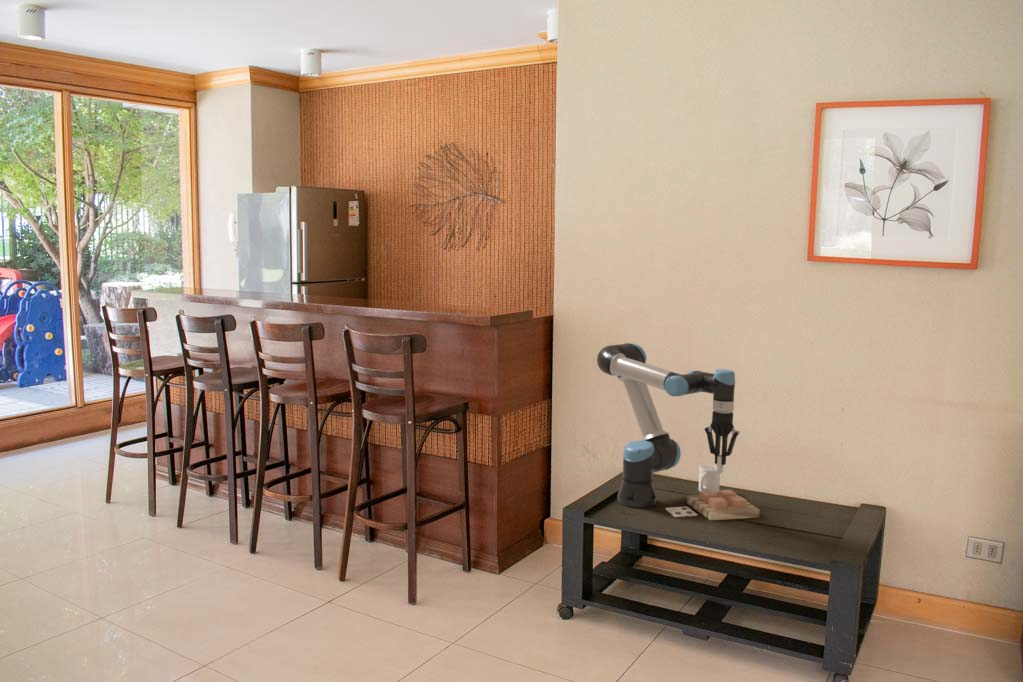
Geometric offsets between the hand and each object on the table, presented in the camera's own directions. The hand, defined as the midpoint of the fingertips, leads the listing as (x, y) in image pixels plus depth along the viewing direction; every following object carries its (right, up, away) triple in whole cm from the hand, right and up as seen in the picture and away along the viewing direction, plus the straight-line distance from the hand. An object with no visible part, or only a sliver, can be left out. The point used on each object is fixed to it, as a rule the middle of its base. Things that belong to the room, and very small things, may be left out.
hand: (719, 472), depth 310 cm
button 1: (-2, -13, +10) cm, 16 cm away
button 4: (+7, -14, +4) cm, 16 cm away
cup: (+2, -13, +28) cm, 31 cm away
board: (+3, -15, +7) cm, 17 cm away
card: (-14, -16, +3) cm, 21 cm away
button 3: (+6, -13, +11) cm, 18 cm away
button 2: (0, -14, +2) cm, 14 cm away
